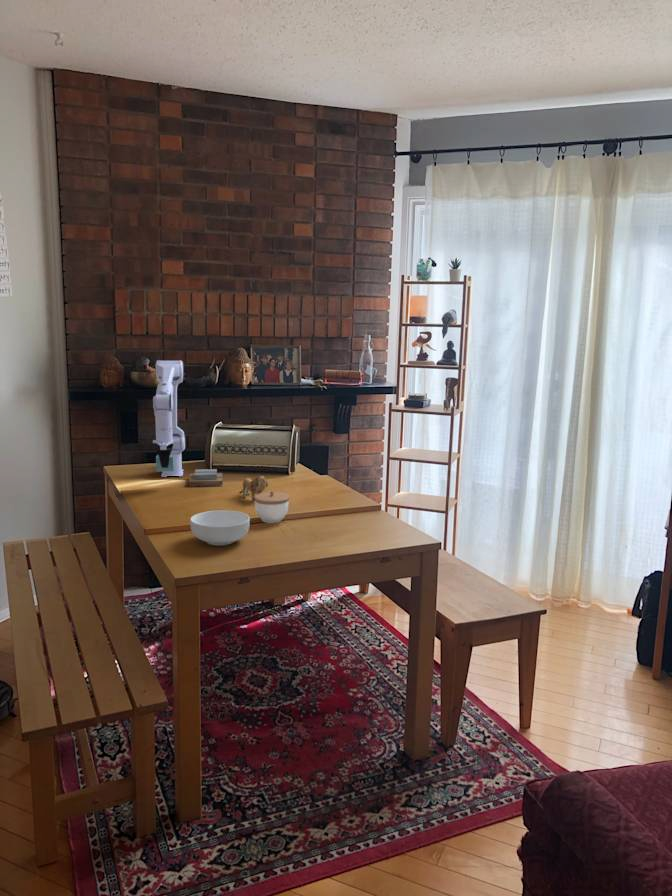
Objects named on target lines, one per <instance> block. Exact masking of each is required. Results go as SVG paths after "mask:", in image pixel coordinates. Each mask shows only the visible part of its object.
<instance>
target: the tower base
mask: <svg viewBox="0 0 672 896" xmlns="http://www.w3.org/2000/svg"><path fill="white" fill-rule="evenodd" d="M188 485H189V486H204V487H221V486H220V485H223V472H218V469H217V468H214V469H213V468H210V469H208V468H207V469H206V468H205V469H202V468H201V469H195V470H194V473H189V480H188ZM189 486H188V487H189Z"/></svg>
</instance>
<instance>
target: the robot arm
mask: <svg viewBox="0 0 672 896" xmlns="http://www.w3.org/2000/svg"><path fill="white" fill-rule="evenodd" d="M155 375H156V378H157V380H158V382H159V383H157V385H156V386H157V387H156V391H155V392H156V393H155V395H154V396H153V398H152V407H153V411H154V412H153V413H154V416H155V417H154V419H155V439H153V440H152V443H153V444H156V447H155V452H156V453H157V455H159V458H160V463H161V466H162V468H168V465H169V457H170V455H174V471H161V472H162V473H161V478H163V477H164V478H168V477H167V476H179V477H183V475H184V472H185V470H184V469H183V466H182V465H183V463H182V462H183V461H182V460H183V459H182V458H183V457H182V452H184V450H185V449H186V437H185V432H184V430H183V429H181V427H179V426H178V386H179V384H181V383H183V380H184V362H183V361H182V360H180V359H179V360H158V359H157V360H156V362H155ZM183 471H184V472H183Z"/></svg>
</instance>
